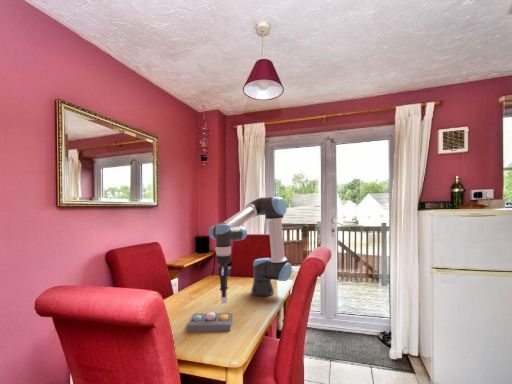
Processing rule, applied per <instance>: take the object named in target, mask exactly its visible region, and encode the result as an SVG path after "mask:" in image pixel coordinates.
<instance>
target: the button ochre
mask: <svg viewBox="0 0 512 384" xmlns="http://www.w3.org/2000/svg"><path fill="white" fill-rule="evenodd" d="M220 321H229V315H227V314H223V315H220Z"/></svg>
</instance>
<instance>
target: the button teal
mask: <svg viewBox="0 0 512 384" xmlns="http://www.w3.org/2000/svg"><path fill="white" fill-rule="evenodd" d="M192 316H193V315H192ZM193 321H202V315H195V316H193Z"/></svg>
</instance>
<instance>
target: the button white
mask: <svg viewBox="0 0 512 384" xmlns="http://www.w3.org/2000/svg"><path fill="white" fill-rule="evenodd" d="M215 313H216V312H214V311H208V312H206V313H205V314H206V320H207V321H214V320H215Z"/></svg>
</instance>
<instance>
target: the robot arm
mask: <svg viewBox="0 0 512 384" xmlns="http://www.w3.org/2000/svg"><path fill="white" fill-rule="evenodd" d="M287 210H288V207H287V204H286V200H285V199H284V198H283V197H281V196H267V197H260V198H259V197H258V198H256V199H254V200H252V201H251V202H248V203H247V204H246V205H245V207H244V208H242V209H241V210H239V211H238V212H237V213H234V214H233V215H232V216H230V217H229V218H228V219H226V220H224V221H223V222H221V223H218V224H216V225H213V226H212V225H211V226H210V227H209V230H208V236H209V238H210V239H213V240H215V248H214V250H215V254H216V256H215V263H216V264H218V265H220V266H219V268H218V269H219V270H218V271H219V278H220V279H219V281H220V288H219V291H220V294H221V295H220V296H221V297H220V301H221V304H228V289H229V287H228V274H229V273H228V271H229V266H228V265H227V264H231V263H232V242H236V241H238V242H239V241H242V240H245V239H246V238H247V236H248V231H247V229H246V227H244V226H242V225H243V224H245V223H246V222H247V221H249V220H250V219H252V218H253V219H254V218H256V217H258V216H265V219H266V220H267V221H268V233H269V235H268V236H269V243H270V244H269V245H270V246H269V247H270V254H271V257H263V258H262V257H261V258H257V259H254V261H253V266H252V268H253V272H252V273H253V282H252V285H251V286H252V287H251V290H250V292H251V296H254V297H260V298H261V297H270V296H273V295H274V293H275V291H274V290H275V289H274V287H273V284H272V281H280V282H286V281H288V280H289V279H290V277H291V274H292V271H293V269H292V264H291V263H290V262H288V258H287V257H286V256H285V247H284V246H285V245H284V233H283V222H282V220H283V219H284V215H286V213H287Z"/></svg>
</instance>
